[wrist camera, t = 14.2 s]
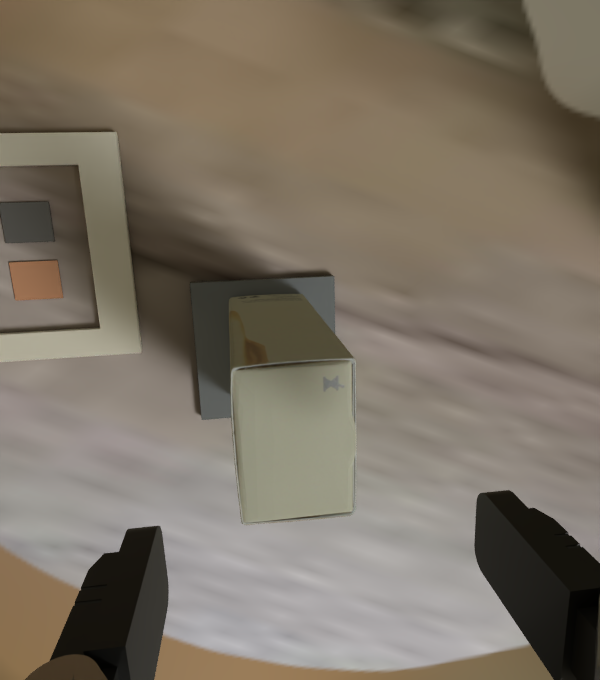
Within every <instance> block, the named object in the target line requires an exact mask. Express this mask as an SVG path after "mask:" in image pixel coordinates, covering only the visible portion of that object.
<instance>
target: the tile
mask: <svg viewBox="0 0 600 680" xmlns="http://www.w3.org/2000/svg"><path fill="white" fill-rule="evenodd" d="M190 290H191V302H192V313H193V325H194V336H195V348H196V359H197V371H198V383H199V394H200V406H201V417H202V420H207V419H219V418H231V398H230V336H229V299H230V298H232V297H240V296H251V295H271V294H303V295H304V296H305V298H306V299H307V300H308V301H309V303H310V304H311V305H312V306H313V308H314V309H315V310H316V311H317V313H318V314H319V315H320V316H321V318H322V319H323V320H324V321H325V323H326V324H327V325H328V326H329V328H330V329H331V330H332V331H333V332H334V334H335V292H334V276H333V275H328V276H308V277H287V278H267V279H247V280H226V281H206V282H190Z"/></svg>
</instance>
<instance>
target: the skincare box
mask: <svg viewBox="0 0 600 680" xmlns="http://www.w3.org/2000/svg"><path fill="white" fill-rule="evenodd" d="M229 336H230V398H231V421H232V436H233V448H234V460H235V470H236V480H237V489H238V498H239V506H240V514H241V522H242V524H244V525H252V524H262V523H277V522H293V521H302V520H314V519H325V518H334V517H345V516H351V515H352V514H353V513H354V512H355V510H356V362H355V359H354V357H353V356H352V355H351V354H350V352H349V351H348V350H347V349H346V348H345V346H344V345H343V344H342V342H341V341H340V340H339V339H338V338H337V336H336V335H335V334H334V332H333V331H332V330H331V329H330V328H329V326H328V325H327V324H326V323H325V321H324V320H323V319H322V318H321V316H320V315H319V314H318V313H317V311H316V310H315V309H314V308H313V306H312V305H311V304H310V303H309V301H308V300H307V299H306V298H305V296H304V295H303V294H271V295H251V296H240V297H232V298H230V299H229Z"/></svg>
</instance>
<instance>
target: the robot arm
mask: <svg viewBox="0 0 600 680" xmlns="http://www.w3.org/2000/svg"><path fill="white" fill-rule="evenodd" d="M475 554H476V559H477V562H478V565H479V568H480V570H481V572H482V573H483V575H484V576H485V578H486V579H487V581H488V582H489V584H490V585H491V587H492V588H493V590H494V591H495V593H496V594H497V596H498V597H499V599H500V600H501V602H502V603H503V605H504V606H505V607H506V609H507V610H508V612H509V613H510V615H511V616H512V618H513V619H514V621H515V622H516V624H517V625H518V627H519V628H520V630H521V631H522V633H523V634H524V636H525V637H526V639H527V640H528V642H529V643H530V645H531V646H532V648H533V649H534V651H535V652H536V653H537V655H538V657H539V658H540V660H541V661H542V662H543V664H544V665H545V667H546V668H547V670H548V671H549V673H550V674H551V676H552V677H553V679H554V680H600V563H599V562H598V561H597V560H596V559H595V558H594V557H592V556H591V555H590V554H589V553H588V552H587V551H586V550H585V549H584V548H583V547H580V544H579V543H578V542H577V541H576V540H575V539H574V538H573V537H572V536H569V535H568V532H567V531H566V530H565V529H564V528H563V527H562V526H561V525H560V524H559V523H558V522H557V521H556V520H554V519H553V518H551V517H549V516H548V515H546V514H544V513H542V512H540V511H539V510H537V509H535V508H529V509H528V508H527V507H526V505H525V504H524V503H523V502H522V501H521V500H520V499H519V498H518V497H517V496H516V495H515V494H514V493H513V492H511V491H509V490H506V491H496V492H487V493H480V494H479V495H478V498H477V506H476V526H475ZM167 607H168V576H167V569H166V561H165V553H164V545H163V537H162V531H161V528H160V526H152V527H142V528H132V529H128V530H127V531H126V534H125V537H124V539H123V542H122V545H121V548H120V551H119V552H114V553H105V554H103V555H102V557H101V558H100V559H99V560H98V561H97V562H96V563H95V564H94V565H93V566H92V567H91V568H90V569H89V570H88V573H87V575H86V577H85V580H84V582H83V584H82V587H81V591H79V594H78V596H77V598H76V601H75V606H73V608H72V610H71V612H70V615H69V617H68V619H67V622H66V624H65V626H64V629H63V631H62V634H61V636H60V638H59V640H58V643H57V645H56V647H55V650H54V652H53V655H52V657H51V659H50V661H49V662H47V663H45V664H43V665H42V666H40V667H39V668H37V669H36V670H35V671H33V672H32V673H31V674H30V675H29V676H28V677H27V678H26V679H25V680H154V677H155V672H156V667H157V661H158V656H159V651H160V645H161V640H162V635H163V629H164V624H165V619H166V613H167Z"/></svg>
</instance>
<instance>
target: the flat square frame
mask: <svg viewBox="0 0 600 680" xmlns="http://www.w3.org/2000/svg"><path fill="white" fill-rule="evenodd" d="M60 165H78V166H79V174H80V181H81V189H82V196H83V204H84V211H85V219H86V226H87V234H88V241H89V249H90V256H91V263H92V271H93V278H94V286H95V293H96V301H97V308H98V316H99V323H100V327H99V328H82V329H65V330H48V331H31V332H14V333H0V362H10V361H25V360H41V359H56V358H71V357H87V356H102V355H117V354H132V353H141V352H142V344H141V335H140V327H139V318H138V309H137V300H136V292H135V283H134V274H133V265H132V256H131V248H130V239H129V230H128V221H127V212H126V204H125V195H124V186H123V177H122V169H121V160H120V151H119V142H118V133H117V132H68V133H0V167H11V166H60ZM0 214H1V220H2V226H3V231H4V237H5V243H22V242H48V241H55V240H54V233H53V227H52V220H51V213H50V207H49V202H19V203H0ZM9 266H10V271H11V277H12V283H13V289H14V294H15V300H32V299H52V298H63V293H62V287H61V280H60V273H59V267H58V260H55V261H32V262H9Z"/></svg>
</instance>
